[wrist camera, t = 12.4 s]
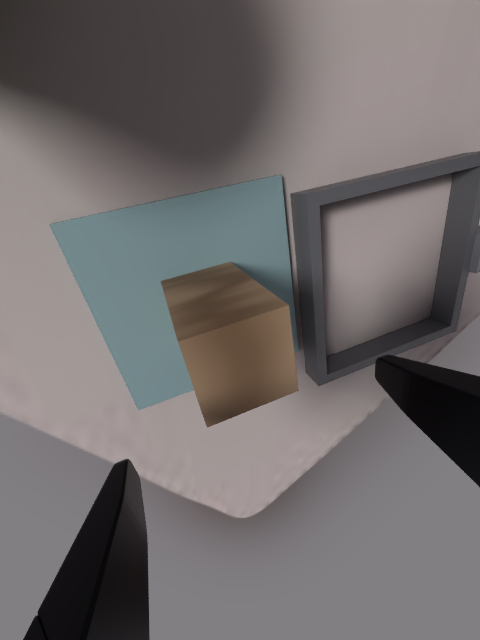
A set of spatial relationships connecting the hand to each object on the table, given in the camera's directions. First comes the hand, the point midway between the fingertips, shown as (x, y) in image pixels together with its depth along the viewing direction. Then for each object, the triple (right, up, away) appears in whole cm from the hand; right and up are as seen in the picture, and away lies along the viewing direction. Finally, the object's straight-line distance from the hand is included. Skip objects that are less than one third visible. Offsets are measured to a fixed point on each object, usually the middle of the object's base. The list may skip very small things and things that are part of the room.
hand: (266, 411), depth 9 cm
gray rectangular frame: (+12, +7, +14) cm, 19 cm away
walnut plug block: (-3, +4, +9) cm, 11 cm away
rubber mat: (-3, +4, +9) cm, 11 cm away
